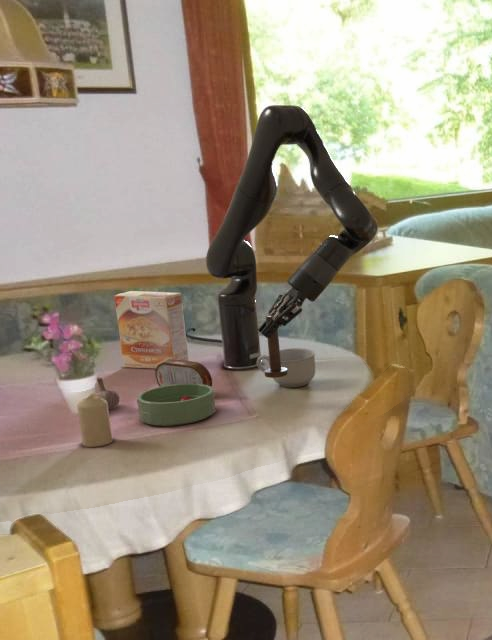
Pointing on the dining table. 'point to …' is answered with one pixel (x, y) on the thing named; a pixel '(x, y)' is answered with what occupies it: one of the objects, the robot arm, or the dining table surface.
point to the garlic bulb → (107, 394)
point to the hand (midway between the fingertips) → (263, 334)
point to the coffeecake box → (151, 328)
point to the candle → (94, 421)
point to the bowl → (176, 404)
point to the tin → (182, 373)
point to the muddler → (274, 355)
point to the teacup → (294, 366)
